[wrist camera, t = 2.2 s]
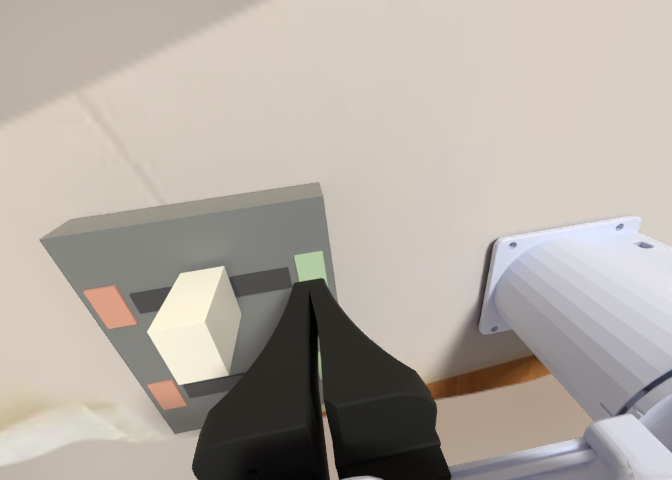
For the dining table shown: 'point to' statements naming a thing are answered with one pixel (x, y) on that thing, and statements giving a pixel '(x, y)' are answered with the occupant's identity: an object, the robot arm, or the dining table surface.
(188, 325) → the block
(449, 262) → the dining table surface
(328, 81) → the dining table surface
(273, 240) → the panel
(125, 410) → the dining table surface
